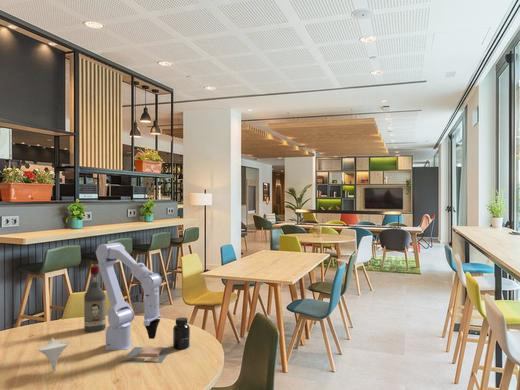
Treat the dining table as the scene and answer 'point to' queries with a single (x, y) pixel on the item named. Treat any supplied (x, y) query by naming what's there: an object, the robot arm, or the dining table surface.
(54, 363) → the white spinning top
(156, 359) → the turner
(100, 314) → the liquor
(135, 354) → the mat
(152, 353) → the tile
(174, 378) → the dining table surface
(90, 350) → the dining table surface
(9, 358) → the dining table surface
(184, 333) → the supplement bottle
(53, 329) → the dining table surface
